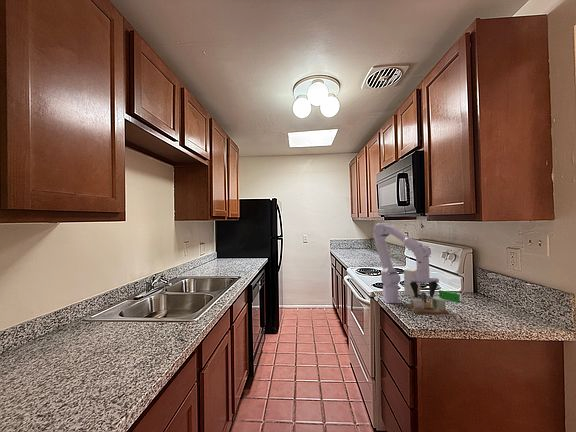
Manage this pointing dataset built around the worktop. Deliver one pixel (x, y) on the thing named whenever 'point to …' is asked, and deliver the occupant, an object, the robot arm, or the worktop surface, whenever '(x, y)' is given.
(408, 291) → the skincare box
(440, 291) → the green block
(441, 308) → the socket block
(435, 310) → the walnut board
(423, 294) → the light wooden block
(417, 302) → the white cardboard cube
